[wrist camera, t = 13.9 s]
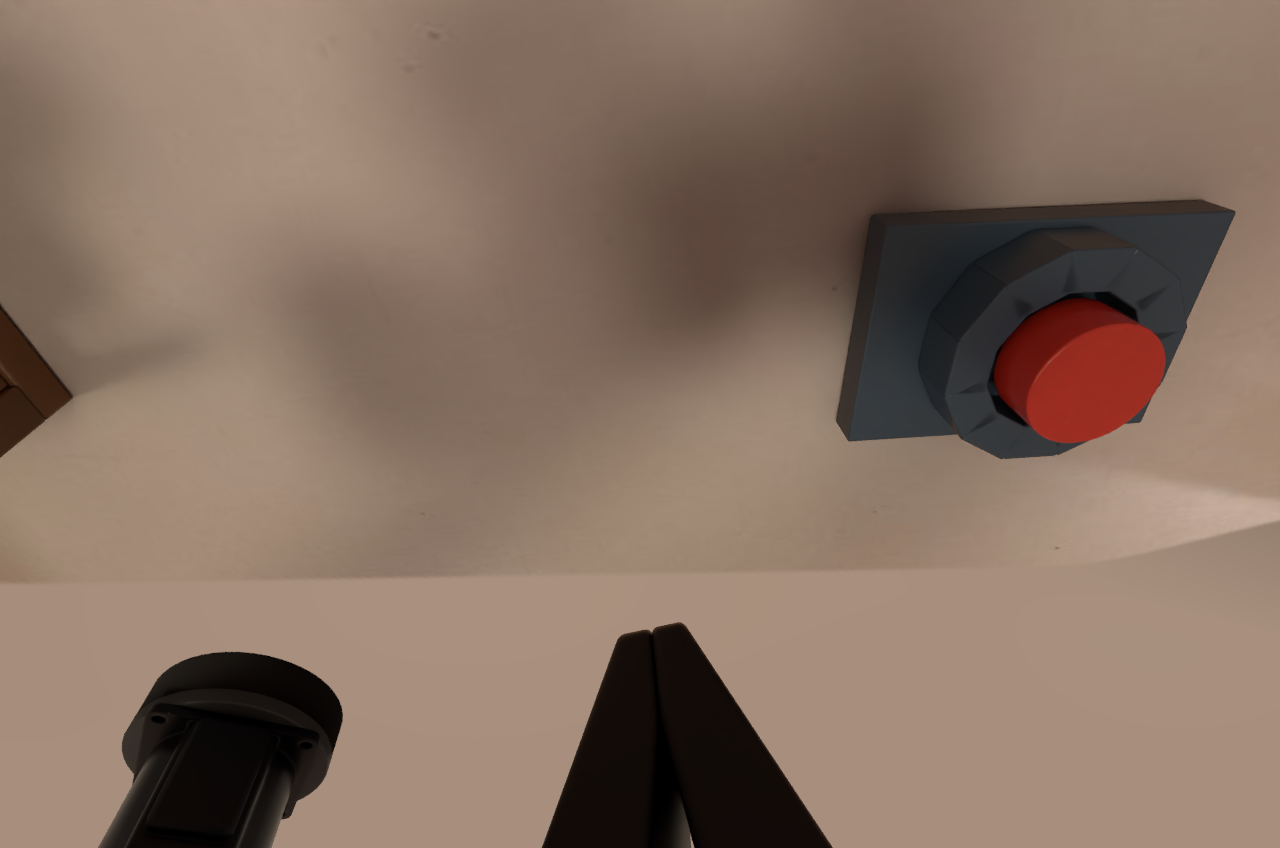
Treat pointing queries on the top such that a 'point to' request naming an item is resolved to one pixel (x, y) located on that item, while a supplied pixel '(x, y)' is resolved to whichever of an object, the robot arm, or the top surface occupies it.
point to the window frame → (24, 388)
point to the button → (1078, 370)
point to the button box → (1005, 306)
